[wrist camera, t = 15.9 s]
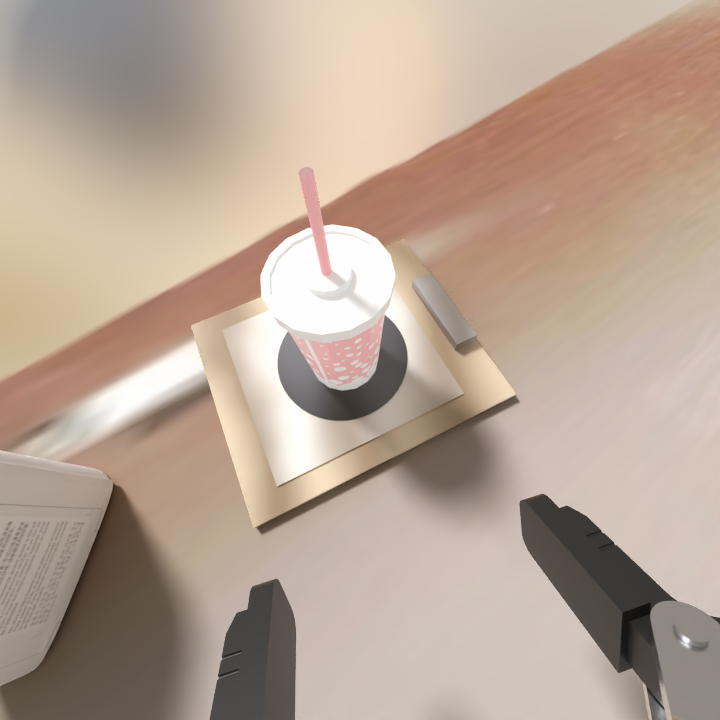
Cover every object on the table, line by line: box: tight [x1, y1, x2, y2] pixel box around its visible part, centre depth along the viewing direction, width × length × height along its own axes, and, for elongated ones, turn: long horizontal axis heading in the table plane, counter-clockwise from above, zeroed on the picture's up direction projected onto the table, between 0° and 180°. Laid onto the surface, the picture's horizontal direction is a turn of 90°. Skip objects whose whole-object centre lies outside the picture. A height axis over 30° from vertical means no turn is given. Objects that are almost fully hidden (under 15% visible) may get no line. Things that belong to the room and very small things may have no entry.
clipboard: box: [191, 239, 516, 528], centre depth 24 cm, size 18×15×1 cm
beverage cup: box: [261, 167, 396, 391], centre depth 17 cm, size 6×6×14 cm
